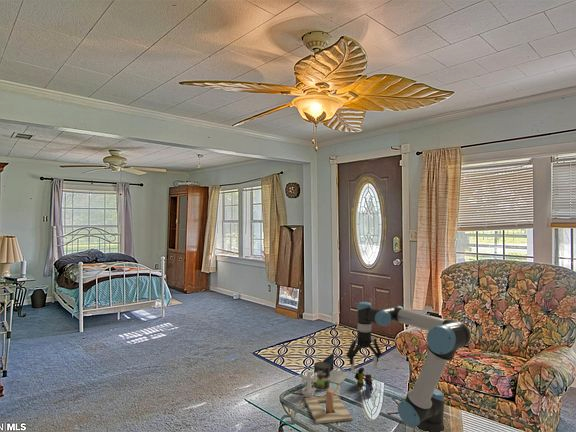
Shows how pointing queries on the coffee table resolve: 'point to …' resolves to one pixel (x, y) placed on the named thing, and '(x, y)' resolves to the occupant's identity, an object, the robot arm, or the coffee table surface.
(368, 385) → the doll family
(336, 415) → the keyhole board
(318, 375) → the green brown figure
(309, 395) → the figurine
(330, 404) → the peg
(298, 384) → the coffee table surface
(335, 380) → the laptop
